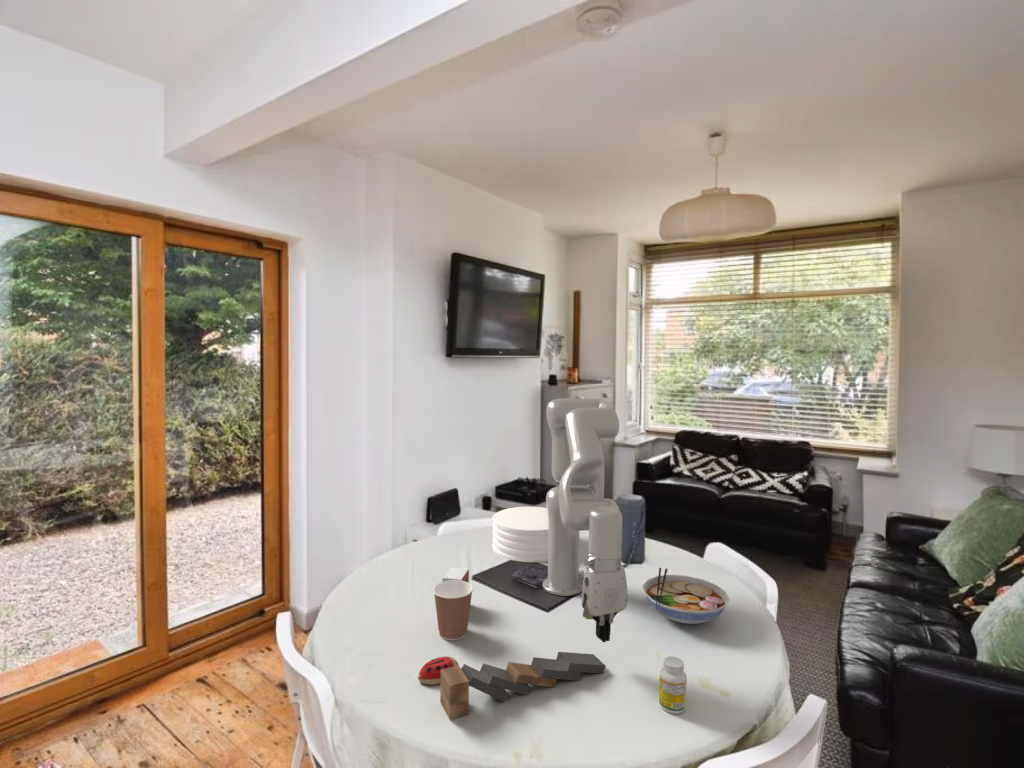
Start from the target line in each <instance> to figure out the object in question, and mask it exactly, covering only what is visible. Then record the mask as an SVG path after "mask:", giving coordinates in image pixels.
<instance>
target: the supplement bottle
mask: <svg viewBox="0 0 1024 768" xmlns="http://www.w3.org/2000/svg"><path fill="white" fill-rule="evenodd" d="M662 666H663V667H661V669H660V671H659V689H658V692H659V693H658V694H659V695H658V701H659V706H660V708H661V709H662V710H663V711H665V712H667V713H669V714H672V715H680V714H682V713H683V712H685V710H686V706H687V705H686V704H687V702H686V701H687V684H688V683H687V681H688V680H687V679H688V677H687V673H686V672H685V671H684V670H685V663H684V661H683V660H682V659H681V658H679V657H677V656H669V655H668V656H666V657H665V658H664V659H663V665H662Z"/></svg>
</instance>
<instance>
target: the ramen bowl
mask: <svg viewBox="0 0 1024 768" xmlns="http://www.w3.org/2000/svg"><path fill="white" fill-rule="evenodd" d="M663 573H664V574H663V575H662V567H659V568H658V575H657V576H654V577H651V578H649V579H647V580H646V581H645V582H644V583H643V584H642V589H643V593H644V595H645V597H646V599H647V601H648V602H649V604H650V605H651V606H652V608H653V609H654V610H655V611H656V612H657V613H659V614H660V615H661V616H663V617H665V618H667V619H669V620H671V621H674V622H676V623H679V624H684V625H697V624H705V623H708V622H709V621H713V620H714V619H716V618H718V616H720V615H721V614H722V612H723V611H724V610H725V608H726V607H727V605H728V603H729V600H730V597H729V596H728V594H727V591H726V590H724V589H723V588H721V587H720V586H719V585H717V584H715V583H713V582H710V581H708V580H705V579H703V578H698V577H694V576H688V575H682V574H681V575H680V574H668V568H665V569H664V572H663Z"/></svg>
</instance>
